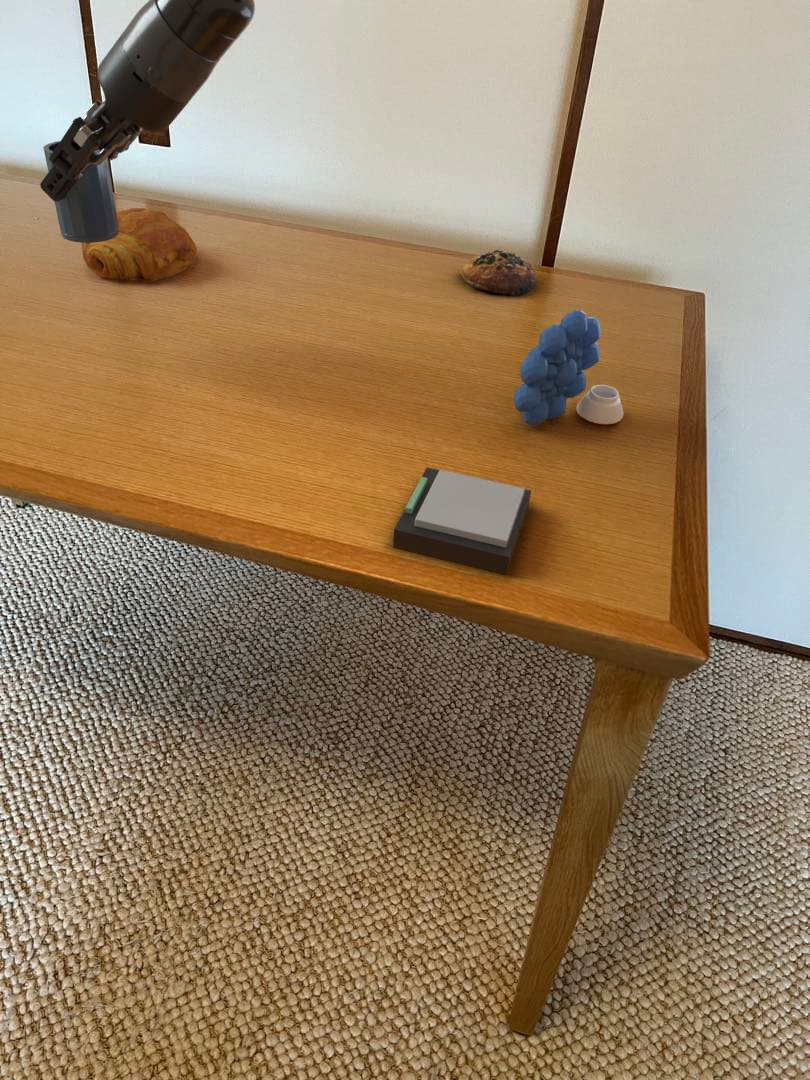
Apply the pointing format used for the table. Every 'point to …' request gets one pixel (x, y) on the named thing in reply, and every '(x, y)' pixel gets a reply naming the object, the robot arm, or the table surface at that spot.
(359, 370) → the table surface
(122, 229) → the croissant
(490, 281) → the bread roll
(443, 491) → the scale
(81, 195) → the cup
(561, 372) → the grapes
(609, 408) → the white jar
